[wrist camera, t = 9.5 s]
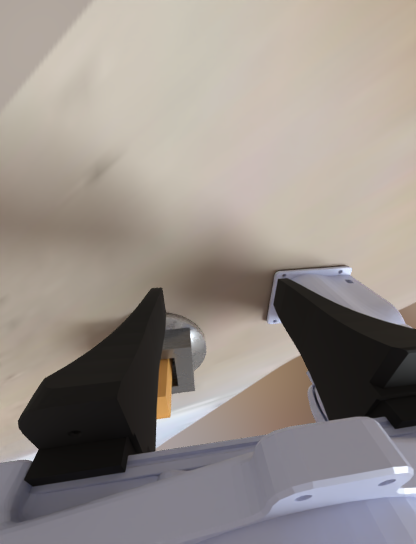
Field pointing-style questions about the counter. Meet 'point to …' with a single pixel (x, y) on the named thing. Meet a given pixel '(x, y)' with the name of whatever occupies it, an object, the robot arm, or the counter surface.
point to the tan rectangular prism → (164, 388)
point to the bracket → (183, 351)
